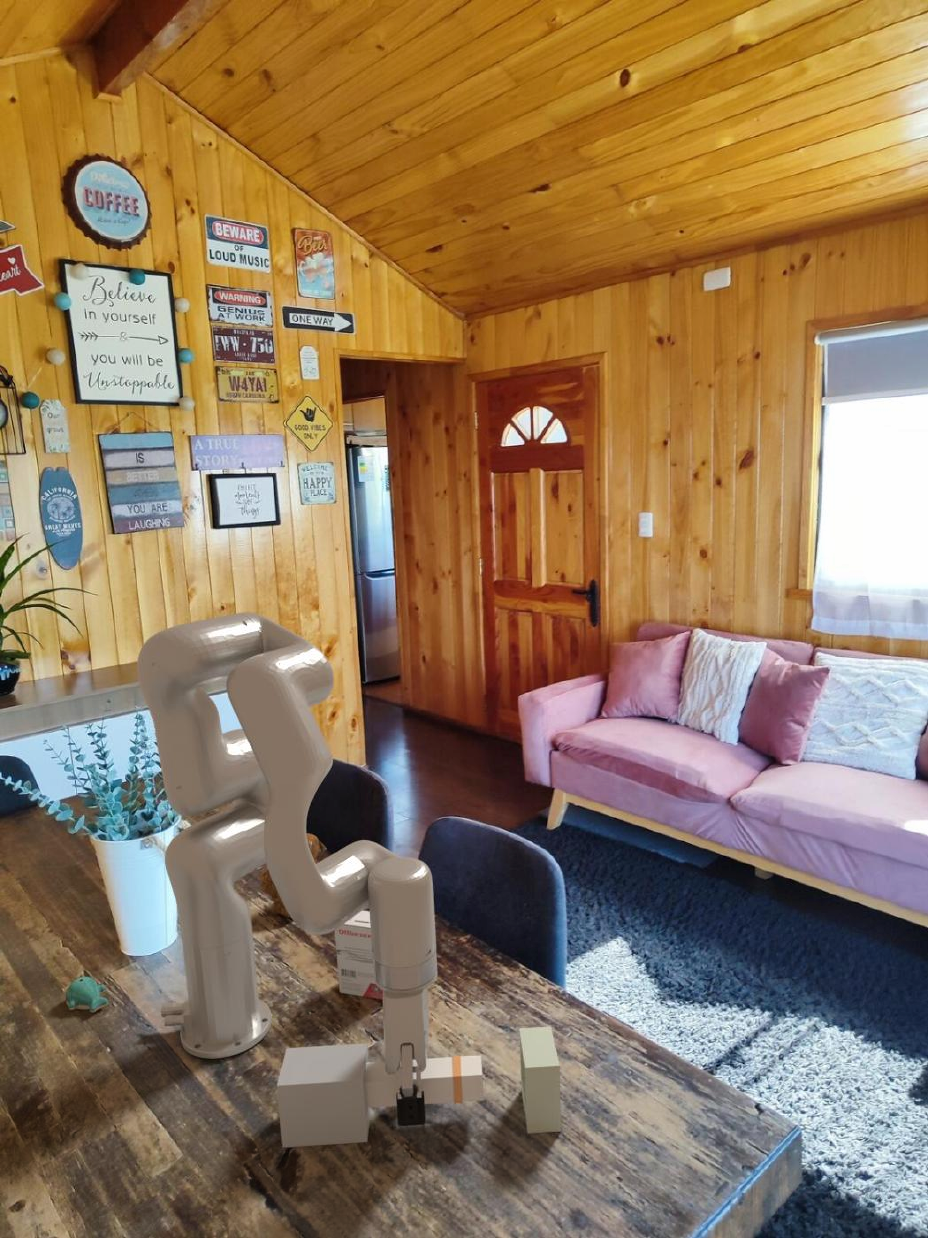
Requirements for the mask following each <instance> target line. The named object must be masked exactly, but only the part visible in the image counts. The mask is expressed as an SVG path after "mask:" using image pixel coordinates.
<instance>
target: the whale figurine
mask: <svg viewBox="0 0 928 1238" xmlns="http://www.w3.org/2000/svg"><path fill="white" fill-rule="evenodd" d="M106 990H107V987H106V986H105V985H104V984H103V985H99V984H98V983H97V981H96V980H95V978H93V977H90V976H82V977H79V978H76V979H75V980H74V981H73V982H72V983H71V984H69V986H68V988H67V990H66V992H65V1002H66V1005H67V1006H68V1009H69V1010H71V1011H73V1010H83V1011H84V1010H89V1012H90V1013H95V1012H96V1011H98V1010H100V1009H102V1008H104V1007H105V1006H107V1005H108V1003H109V1000H108V999H107V998H105V997H102V996H101V995H102V994H104V993H105V992H106Z"/></svg>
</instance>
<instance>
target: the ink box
mask: <svg viewBox="0 0 928 1238" xmlns="http://www.w3.org/2000/svg"><path fill="white" fill-rule="evenodd" d="M333 932H334V939H335V952H336V964H337V965H336V966H337V975H338V984H339V985H338V986H339V987H338V988H339V992H340V993H341V994H348V995H354V996H357V997H358V996H359V997H363V998H370V999H376V1000H381V1001H383V990H381V989H380V988H379V987H378V986H377V985H376V984H375V981H374V971H373V956H372V941H371V926H370V912H369V911H368V910H362V911H361V912H360V913H358V914H357V915H355V916H354V917H353V918H351V919H350V920H348V921H347V922H346V923H344V924H343V925H341V926H340V927H338V928H337V929H335V930H334V931H333Z"/></svg>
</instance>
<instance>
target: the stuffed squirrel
mask: <svg viewBox="0 0 928 1238" xmlns="http://www.w3.org/2000/svg"><path fill="white" fill-rule="evenodd" d="M306 835H307V841H308V845H309V848H310V851H311V854H312V857H313V859H314V861H315V863H316V864H317V863H319V862H321V861H322V860H324V859H326V858H327V857H324V858H323V859H322V860H321V861H318V860H317V857H318V854H319V852H320V849H321V848H322V850H323V852H324V851H326V850H327V848H326V846H325V845H324V844H323V843H322V842H321V841H320V840H319V838H318V837H317V836H316V835H314V834H313V833H309V832H308V833H307V832H306ZM257 880H259V881H261V882H260V884H259V885H260V887H261V890H262V891H263V893H265V894H267V895H270V896H271V899H272V900H273V903H272V905H273V908H274V910H275V912H276V913H279V914H280V915H282V916H283V917H287V918H289V919H290V918H291V916H290V915H289V913H288V911H287V910H286V908H285V906H284V904H283V902H282V900H281V898H280V896H279V893H278V891H277V889H276V887H275V885H274V882H273V880H272V878H271V876H270V873H269V870H268V868H265V869H264V871H263V872H262V873H261V874H260V877H258V878H257ZM291 919H292V918H291Z"/></svg>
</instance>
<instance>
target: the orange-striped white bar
mask: <svg viewBox="0 0 928 1238" xmlns="http://www.w3.org/2000/svg"><path fill="white" fill-rule="evenodd" d="M482 1064H483V1063H482V1055H481V1054H480V1055H467V1056H465V1055H463V1056H462V1055H452V1056H449V1057H448V1056H447V1057H446V1056H445V1057H433V1058H427V1064H426V1069H425V1070H424V1071H423V1072H421V1085H422V1091H424V1099H425V1105H429V1104H430V1105H431V1104H447V1103H454V1104H462V1103H464V1102H475V1101H484V1081H483V1079H484V1078H483V1076H484V1075H483V1068H482V1067H483V1065H482ZM414 1066H417V1062H416V1060H413V1067H414ZM401 1067H402V1061H401ZM413 1084H416V1086H417V1080H416V1072H415V1073H413ZM364 1088H365V1102H366V1108H371V1109H372V1108H383V1107H397V1102H396V1093H397V1070H396V1073H395V1074H387V1073H386V1071H385V1060H384V1061H369V1062H366V1069H365V1078H364Z"/></svg>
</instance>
